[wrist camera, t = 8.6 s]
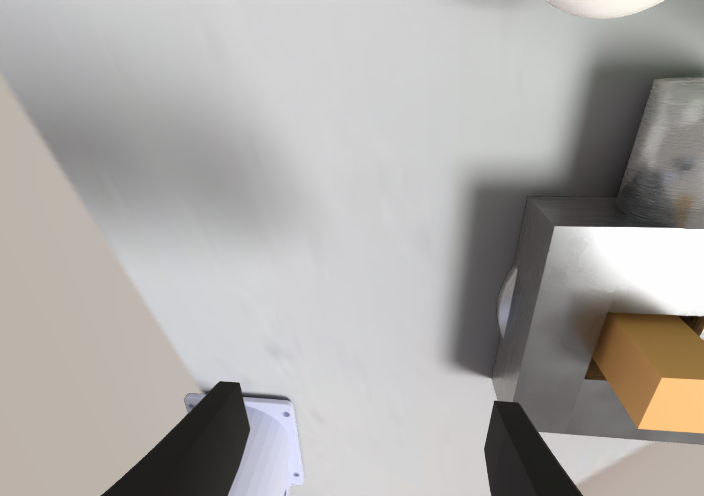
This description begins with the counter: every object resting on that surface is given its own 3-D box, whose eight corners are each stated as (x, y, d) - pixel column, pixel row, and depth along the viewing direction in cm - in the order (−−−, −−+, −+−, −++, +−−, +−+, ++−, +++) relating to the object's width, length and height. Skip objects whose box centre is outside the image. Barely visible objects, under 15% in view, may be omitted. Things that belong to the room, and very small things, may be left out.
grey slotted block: (675, 390, 22) (722, 448, 19) (483, 378, 23) (496, 430, 20) (841, 73, 14) (969, 78, 11) (537, 81, 15) (573, 88, 12)
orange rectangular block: (648, 288, 18) (747, 382, 13) (631, 332, 20) (715, 434, 14) (588, 286, 19) (661, 377, 13) (575, 330, 20) (637, 429, 15)
